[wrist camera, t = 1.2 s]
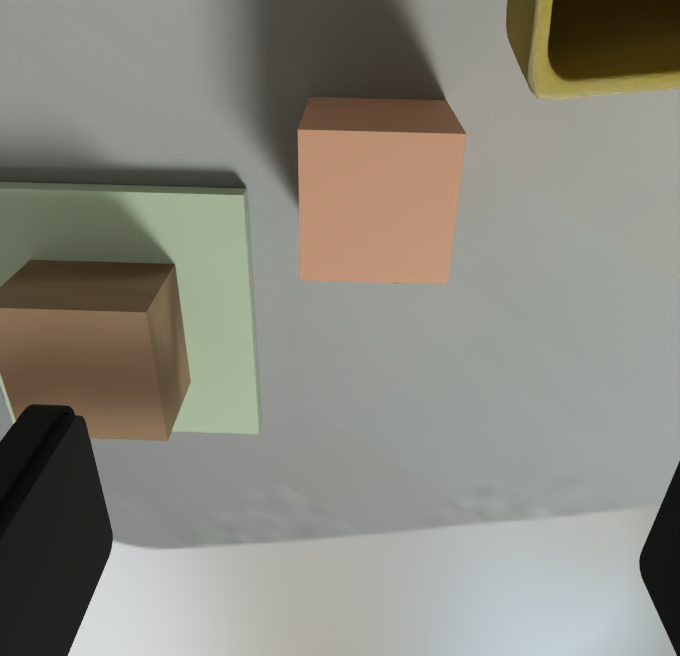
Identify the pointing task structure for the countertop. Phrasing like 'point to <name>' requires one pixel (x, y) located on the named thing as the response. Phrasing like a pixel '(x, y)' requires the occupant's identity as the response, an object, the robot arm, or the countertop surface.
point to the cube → (378, 189)
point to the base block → (96, 344)
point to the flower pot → (595, 46)
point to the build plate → (166, 248)
